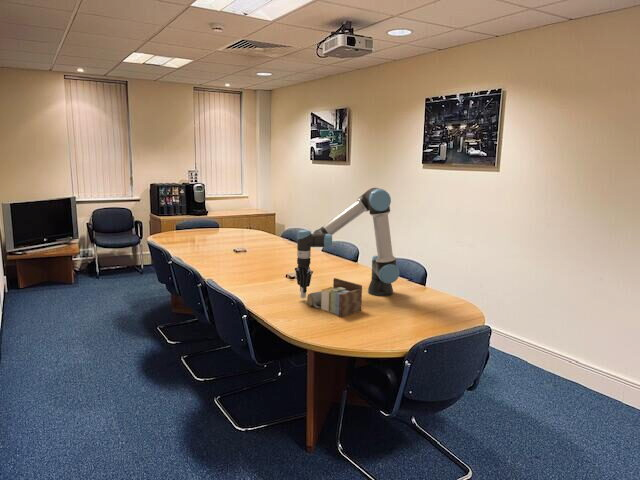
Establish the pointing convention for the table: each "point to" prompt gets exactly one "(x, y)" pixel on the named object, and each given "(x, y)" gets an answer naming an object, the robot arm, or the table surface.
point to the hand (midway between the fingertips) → (303, 297)
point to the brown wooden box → (345, 297)
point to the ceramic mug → (314, 299)
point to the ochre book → (326, 299)
